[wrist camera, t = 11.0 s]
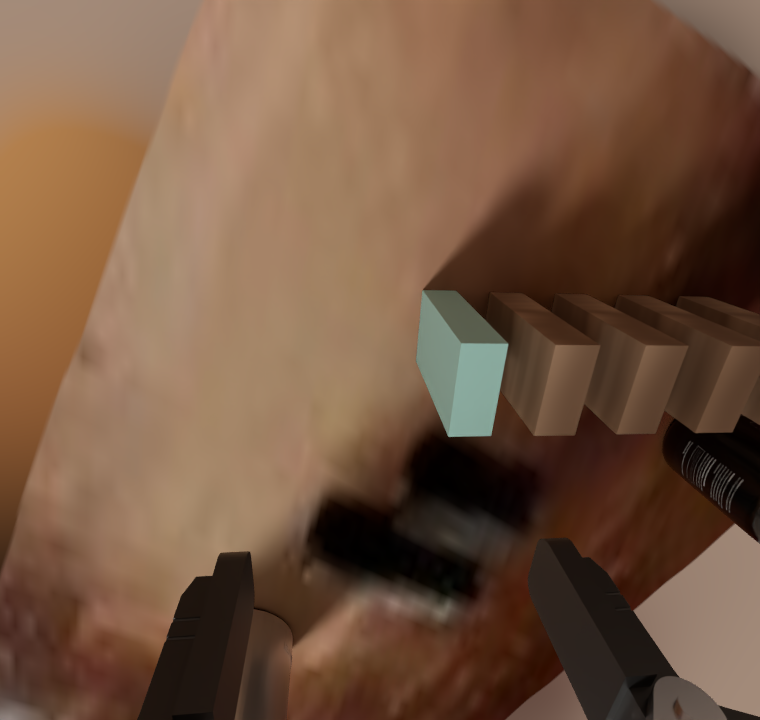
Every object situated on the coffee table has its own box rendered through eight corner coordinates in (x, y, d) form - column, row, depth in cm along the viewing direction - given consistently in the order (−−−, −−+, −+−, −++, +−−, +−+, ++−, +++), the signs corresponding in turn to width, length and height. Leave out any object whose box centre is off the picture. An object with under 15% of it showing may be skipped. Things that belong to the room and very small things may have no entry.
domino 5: (655, 362, 31) (770, 431, 23) (679, 296, 29) (814, 346, 21) (683, 362, 31) (806, 430, 23) (708, 296, 29) (852, 347, 21)
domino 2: (478, 361, 30) (534, 435, 21) (489, 292, 27) (555, 344, 19) (508, 361, 30) (574, 435, 22) (522, 292, 28) (600, 345, 20)
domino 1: (416, 361, 29) (448, 436, 21) (422, 289, 27) (461, 343, 19) (447, 361, 29) (491, 435, 21) (456, 290, 27) (508, 343, 19)
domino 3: (539, 361, 30) (616, 434, 22) (555, 293, 28) (646, 345, 20) (568, 361, 30) (655, 433, 22) (586, 294, 28) (688, 345, 20)
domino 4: (598, 362, 31) (695, 432, 22) (618, 294, 29) (732, 346, 20) (627, 362, 31) (732, 432, 23) (648, 295, 29) (772, 346, 21)
